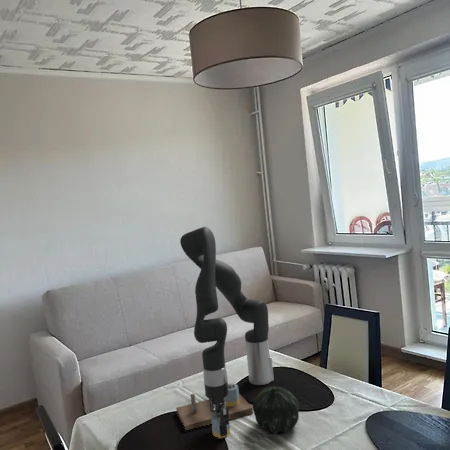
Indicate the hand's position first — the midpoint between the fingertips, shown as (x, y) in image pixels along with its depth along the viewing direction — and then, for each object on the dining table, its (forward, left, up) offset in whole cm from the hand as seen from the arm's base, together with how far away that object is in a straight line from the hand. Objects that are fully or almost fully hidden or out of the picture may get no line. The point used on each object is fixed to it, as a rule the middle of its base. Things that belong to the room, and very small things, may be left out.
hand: (220, 430), depth 144 cm
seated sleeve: (-9, -14, +1) cm, 17 cm away
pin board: (-2, -14, -1) cm, 14 cm away
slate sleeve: (0, 0, -1) cm, 1 cm away
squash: (-18, +5, -1) cm, 19 cm away
